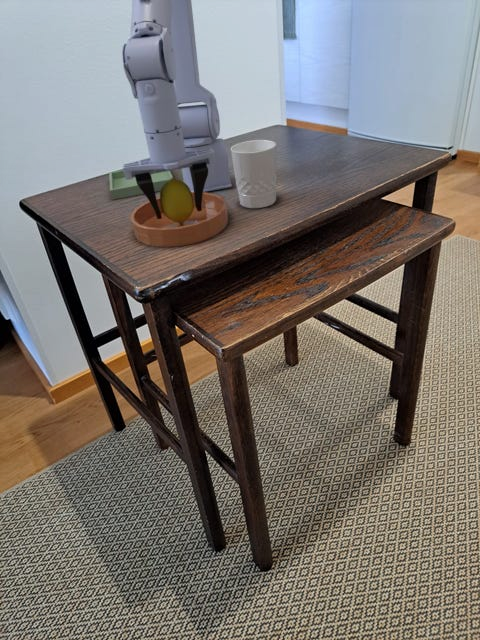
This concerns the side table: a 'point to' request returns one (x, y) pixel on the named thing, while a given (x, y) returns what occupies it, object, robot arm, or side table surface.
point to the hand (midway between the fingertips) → (179, 213)
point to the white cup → (255, 172)
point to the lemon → (176, 200)
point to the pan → (177, 234)
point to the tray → (134, 184)
